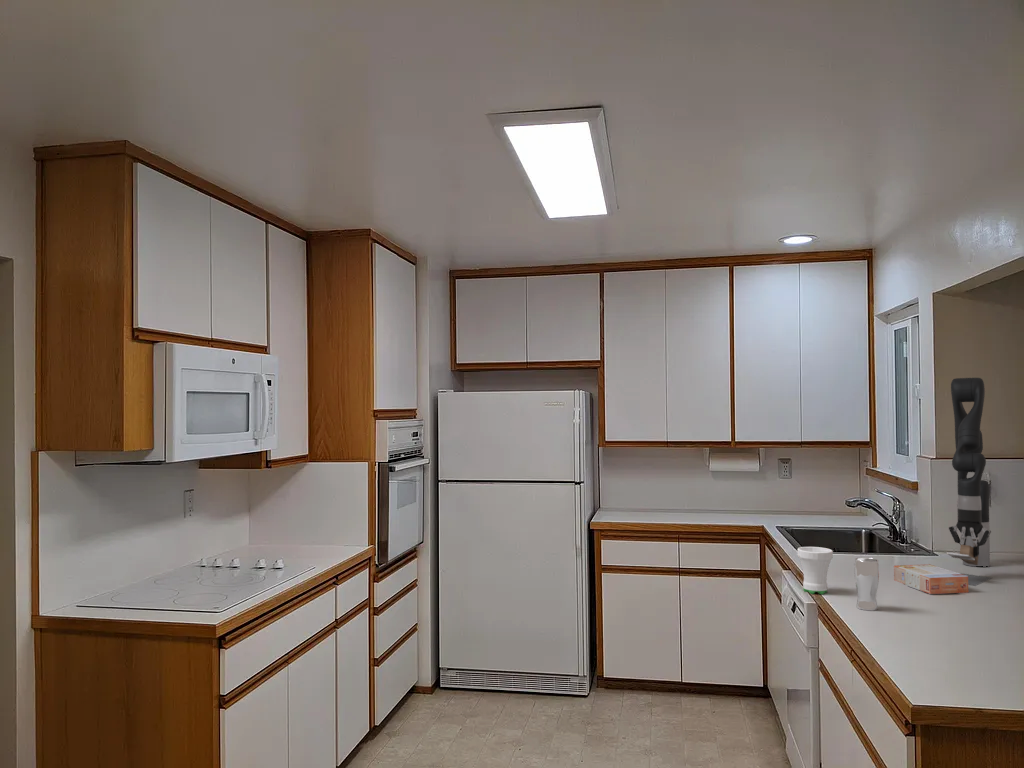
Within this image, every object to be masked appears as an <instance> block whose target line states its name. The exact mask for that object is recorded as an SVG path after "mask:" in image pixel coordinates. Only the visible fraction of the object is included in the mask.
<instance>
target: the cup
mask: <svg viewBox="0 0 1024 768" xmlns="http://www.w3.org/2000/svg"><path fill="white" fill-rule="evenodd" d="M797 557H798V558H799V561H800V564H801V567H802V570H803V571H802V572H803V582H802V585H803V586H802V589H803V592H804V593H809V594H810V595H814V594H816V593H818V594H819V595H824V594H827V593H828V582H827V580H828V578H827V577H828V571H829V567H830V563H831V562H832V560H833V557H834V554H833V550H832V549H830V548H826V547H821V546H820V547H819V546H801V547H800V546H799V547H798V548H797Z"/></svg>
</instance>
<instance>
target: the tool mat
mask: <svg viewBox="0 0 1024 768" xmlns="http://www.w3.org/2000/svg"><path fill="white" fill-rule="evenodd" d="M959 573H960V574H963V575H966V576H968V586H972V587H976V586H978V585H979V586H980V584H982V583H985V582H987V581H989V580H992V577H990V576H982V575H975V574H969V573H962V572H959Z"/></svg>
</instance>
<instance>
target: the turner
mask: <svg viewBox="0 0 1024 768" xmlns="http://www.w3.org/2000/svg"><path fill="white" fill-rule="evenodd" d="M946 554H947V555H948V556H950V557H951V558H954V559H960V560H961V561H962V562H963V561H964V562H966V563H968V564H973V565H978V556H977V557H974V555H973V547H971V546H969V545H960V548H959V553H958V552H957V553H956V552H948V551H946Z"/></svg>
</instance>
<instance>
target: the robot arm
mask: <svg viewBox="0 0 1024 768" xmlns="http://www.w3.org/2000/svg"><path fill="white" fill-rule="evenodd" d="M985 392H986V391H985V382H984V380H983V378H981V377H956V378H953V379H952V381H951V383H950V395H951V402H952V409H953V418H954V439H955V440H954V441H955V452H954V454H953V457H952V460H951V466H952V469H954V471H956V472H957V501H956V502H957V504H956V508H957V522H956V525H952V526H949V527H948V530H949V532H950V535H951V537H952V539H953V541H954V543H955V544H959V545H960V546H961V545H969V546H971V547H973V555H974V557H977V556H978V565H973V564H968V563H966V562H964V561H963V560H962V565H965V566H969V567H976V566H983V567H982V568H985V567H986V566H988V567H991V561H990V559H991V557H990V555H991V553H990V551H991V549H990V548H991V547H990V539H991V538H990V535H991V533H992V531H991V530H990V498H991V497H990V496H991V494H990V493H991V491H990V490H991V489H990V483H989V481H988V480H984V479H983V480H982V477H983V473H984V472H985V468H986V465H987V460H986V457H985V456H984V454H982V452H983V450H984V449H983V448H984V443H983V442H984V441H983V432H982V430H981V423H982V417H983V411H984V404H985V403H984V402H985ZM963 403H973V405H972V407H971V409H970V410H969V412H968V413H967V411H966V409H965V407H964V405H963ZM969 473H973V475H972V476H971V477H968V474H969ZM958 531H959V532H960V537H959V534H958ZM986 568H987V567H986Z"/></svg>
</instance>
